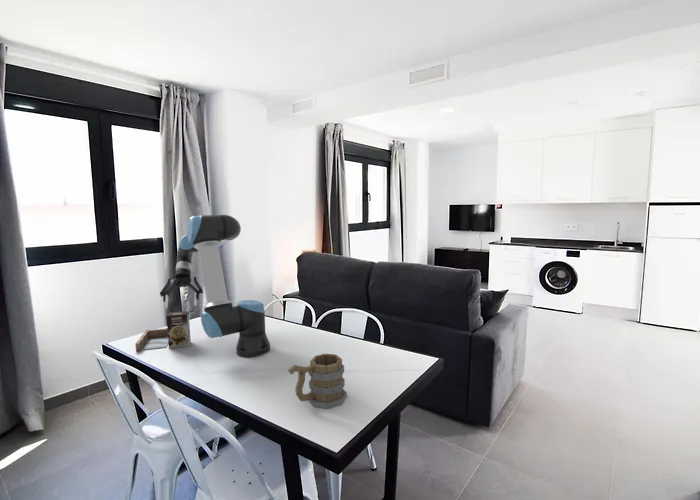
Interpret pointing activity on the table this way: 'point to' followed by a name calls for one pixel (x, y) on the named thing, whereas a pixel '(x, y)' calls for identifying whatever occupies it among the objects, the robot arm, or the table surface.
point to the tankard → (322, 381)
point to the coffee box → (178, 329)
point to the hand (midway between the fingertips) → (180, 306)
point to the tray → (153, 342)
